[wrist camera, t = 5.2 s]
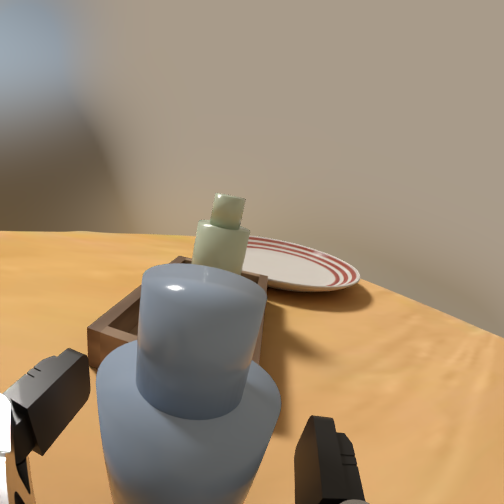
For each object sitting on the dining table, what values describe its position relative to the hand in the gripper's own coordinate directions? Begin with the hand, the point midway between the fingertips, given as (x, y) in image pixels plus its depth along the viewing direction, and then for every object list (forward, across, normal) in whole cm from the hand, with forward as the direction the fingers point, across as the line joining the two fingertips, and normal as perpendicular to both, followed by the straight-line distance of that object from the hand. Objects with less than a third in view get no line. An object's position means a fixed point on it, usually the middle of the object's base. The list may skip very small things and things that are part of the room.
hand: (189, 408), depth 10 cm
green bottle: (+23, +3, +5) cm, 24 cm away
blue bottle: (-1, 0, +6) cm, 6 cm away
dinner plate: (+43, -4, +6) cm, 44 cm away
